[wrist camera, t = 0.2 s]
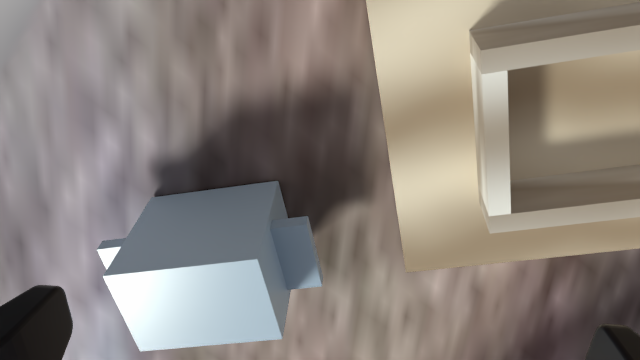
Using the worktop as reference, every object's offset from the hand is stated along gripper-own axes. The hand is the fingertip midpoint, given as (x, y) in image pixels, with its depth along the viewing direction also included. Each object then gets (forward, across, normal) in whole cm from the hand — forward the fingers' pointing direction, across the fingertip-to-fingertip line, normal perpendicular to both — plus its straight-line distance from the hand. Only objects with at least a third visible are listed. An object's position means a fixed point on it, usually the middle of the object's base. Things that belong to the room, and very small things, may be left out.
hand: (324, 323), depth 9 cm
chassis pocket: (+14, -10, +1) cm, 17 cm away
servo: (+14, +5, +8) cm, 17 cm away
